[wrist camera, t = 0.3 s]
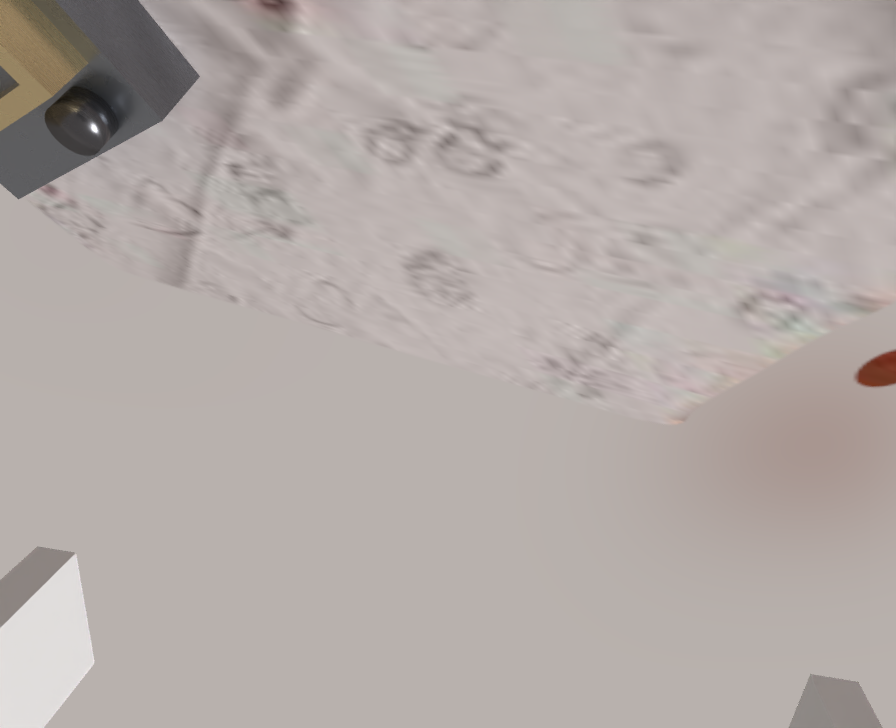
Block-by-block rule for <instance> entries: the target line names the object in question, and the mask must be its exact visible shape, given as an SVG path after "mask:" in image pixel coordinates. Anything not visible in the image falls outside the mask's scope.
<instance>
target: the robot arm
mask: <svg viewBox="0 0 896 728" xmlns="http://www.w3.org/2000/svg"><path fill="white" fill-rule="evenodd" d="M94 663H95V661H94V657H93V650H92V644H91V638H90V633H89V627H88V620H87V614H86V609H85V603H84V597H83V592H82V585H81V579H80V574H79V568H78V562H77V556H76V553H74V552H67V551H61V550H55V549H49V548H43V547H37V548H35V549H34V550H33V551H32V552H31V553H30V554H29V555H28V556H27V557H26V558H24V559H23V560H22V561H21V562H20V563H19V564H18V565H17V566H15V567H14V568H13V569H12V570H11V571H10V572H9V573H8V574H7V575H5V576H4V577H3V578H2V579H1V580H0V728H44V727H45V726H46V724H47V723H48V722H49V721H50V719H51V718H52V716H53V715H54V714H55V713H56V712H57V710H58V709H59V708H60V707H61V705H62V704H63V703H64V701H65V700H66V699H67V698H68V696H69V695H70V694H71V692H72V691H73V690H74V689H75V687H76V686H77V685H78V684H79V682H80V681H81V680H82V678H83V677H84V676H85V675H86V673H87V672H88V671H89V670H90V668H91V667H92V665H93V664H94ZM789 728H882V726H881V724H880V722H879V720H878V719H877V717H876V715H875V713H874V711H873V709H872V707H871V705H870V703H869V702H868V700H867V698H866V696H865V694H864V692H863V690H862V688H861V686H860V684H859V682H855V681H848V680H843V679H836V678H831V677H824V676H818V675H812V674H811V675H810V677H809V679H808V682H807V684H806V687H805V689H804V691H803V694H802V696H801V699H800V701H799V704H798V706H797V709H796V711H795V714H794V716H793V718H792V721H791V723H790V726H789Z"/></svg>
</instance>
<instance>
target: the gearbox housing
mask: <svg viewBox="0 0 896 728" xmlns="http://www.w3.org/2000/svg"><path fill="white" fill-rule="evenodd" d="M199 77H200V76H199V75H198V74H197V73H196V71H195V70H194V69H193V68H192V67H191V65H190V64H189V63H188V62H187V60H186V59H185V58H184V57H183V55H182V54H181V53H180V52H179V51H178V49H177V48H176V47H175V46H174V44H173V43H172V42H171V41H170V39H169V38H168V37H167V36H166V35H165V33H164V32H163V31H162V30H161V28H160V27H159V26H158V25H157V23H156V22H155V21H154V20H153V18H152V17H151V16H150V15H149V14H148V12H147V11H146V10H145V9H144V7H143V6H142V5H141V4H140V2H139V1H138V0H0V183H1V184H2V185H3V186H4V187H5V188H6V189H7V190H8V191H10V192H11V193H12V194H13V195H14V196H15V197H17V198H18V199H20V198H22V197H24V196H25V195H27V194H29V193H31V192H33V191H35V190H36V189H38V188H40V187H42V186H44V185H46V184H47V183H49V182H51V181H53V180H55V179H56V178H58V177H60V176H62V175H64V174H66V173H67V172H69V171H71V170H73V169H75V168H77V167H78V166H80V165H82V164H84V163H86V162H88V161H89V160H91V159H93V158H95V157H97V156H99V155H100V154H102V153H104V152H106V151H108V150H110V149H111V148H113V147H115V146H117V145H119V144H121V143H122V142H124V141H126V140H128V139H130V138H131V137H133V136H135V135H137V134H139V133H141V132H142V131H144V130H146V129H148V128H150V127H152V126H153V125H155V124H157V123H159V122H161V121H162V120H163V119H164V118H165V117H166V116H167V115H168V113H169V112H170V111H171V110H172V109H173V107H174V106H175V105H176V104H177V103H178V102H179V100H180V99H181V98H182V97H183V96H184V95H185V93H186V92H187V91H188V90H189V89H190V88H191V86H192V85H193V84H194V83H195V82H196V80H197V79H198V78H199Z"/></svg>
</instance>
